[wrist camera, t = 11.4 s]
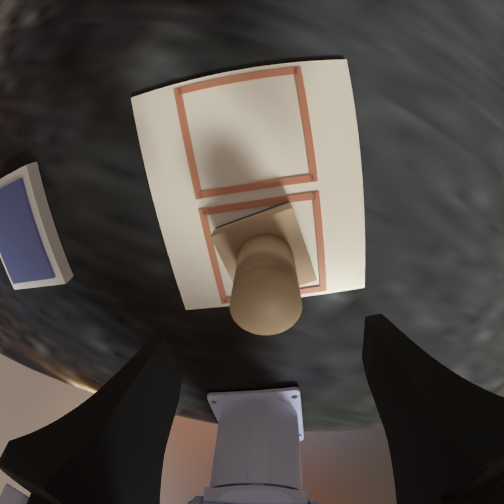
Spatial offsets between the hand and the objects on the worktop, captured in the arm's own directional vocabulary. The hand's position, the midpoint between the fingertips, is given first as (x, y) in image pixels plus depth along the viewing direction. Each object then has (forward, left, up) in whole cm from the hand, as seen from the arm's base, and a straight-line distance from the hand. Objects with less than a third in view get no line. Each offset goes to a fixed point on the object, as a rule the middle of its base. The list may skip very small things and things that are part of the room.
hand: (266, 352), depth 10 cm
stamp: (0, 0, -8) cm, 8 cm away
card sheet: (+4, 0, -9) cm, 9 cm away
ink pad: (+5, +18, -9) cm, 20 cm away
